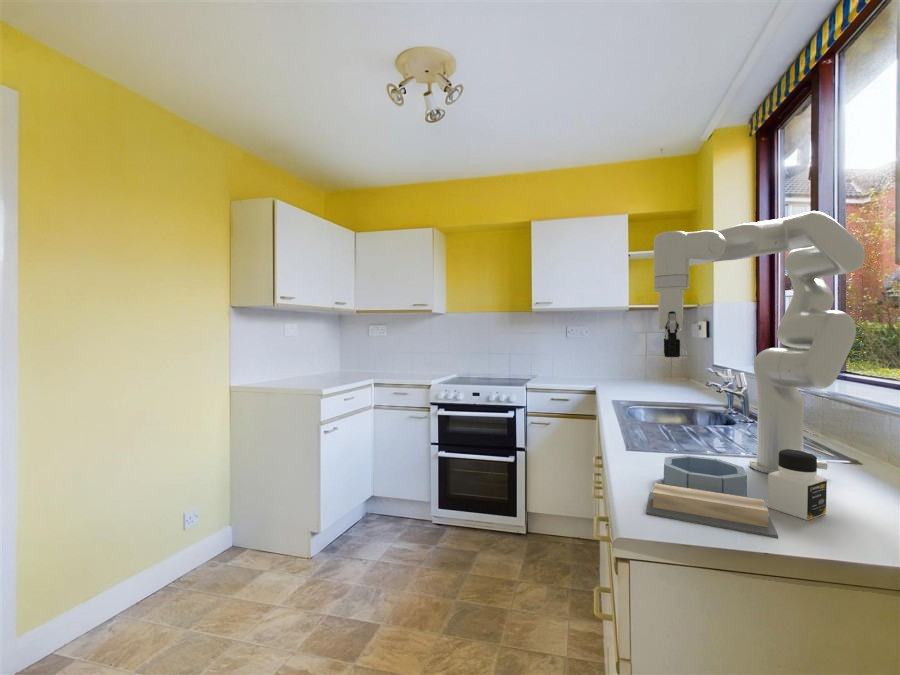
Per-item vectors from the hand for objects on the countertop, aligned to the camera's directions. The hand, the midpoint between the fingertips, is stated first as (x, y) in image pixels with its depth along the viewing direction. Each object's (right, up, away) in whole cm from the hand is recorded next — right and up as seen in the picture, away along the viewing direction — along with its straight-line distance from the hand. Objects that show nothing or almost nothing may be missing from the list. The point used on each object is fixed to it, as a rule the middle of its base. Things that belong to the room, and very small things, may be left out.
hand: (671, 355), depth 106 cm
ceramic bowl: (+5, -30, -5) cm, 31 cm away
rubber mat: (-3, -30, -19) cm, 36 cm away
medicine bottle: (+16, -31, -18) cm, 39 cm away
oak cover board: (-3, -30, -19) cm, 36 cm away
